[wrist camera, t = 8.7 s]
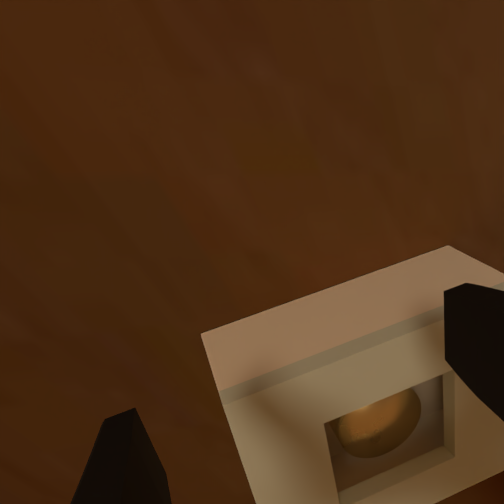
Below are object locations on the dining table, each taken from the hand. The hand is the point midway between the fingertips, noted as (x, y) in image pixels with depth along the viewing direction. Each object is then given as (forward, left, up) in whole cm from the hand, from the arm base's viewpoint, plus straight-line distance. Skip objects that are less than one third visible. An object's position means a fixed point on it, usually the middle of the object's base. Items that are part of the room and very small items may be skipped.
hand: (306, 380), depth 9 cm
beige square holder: (-5, +11, -10) cm, 16 cm away
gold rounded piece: (-5, +11, -10) cm, 15 cm away
